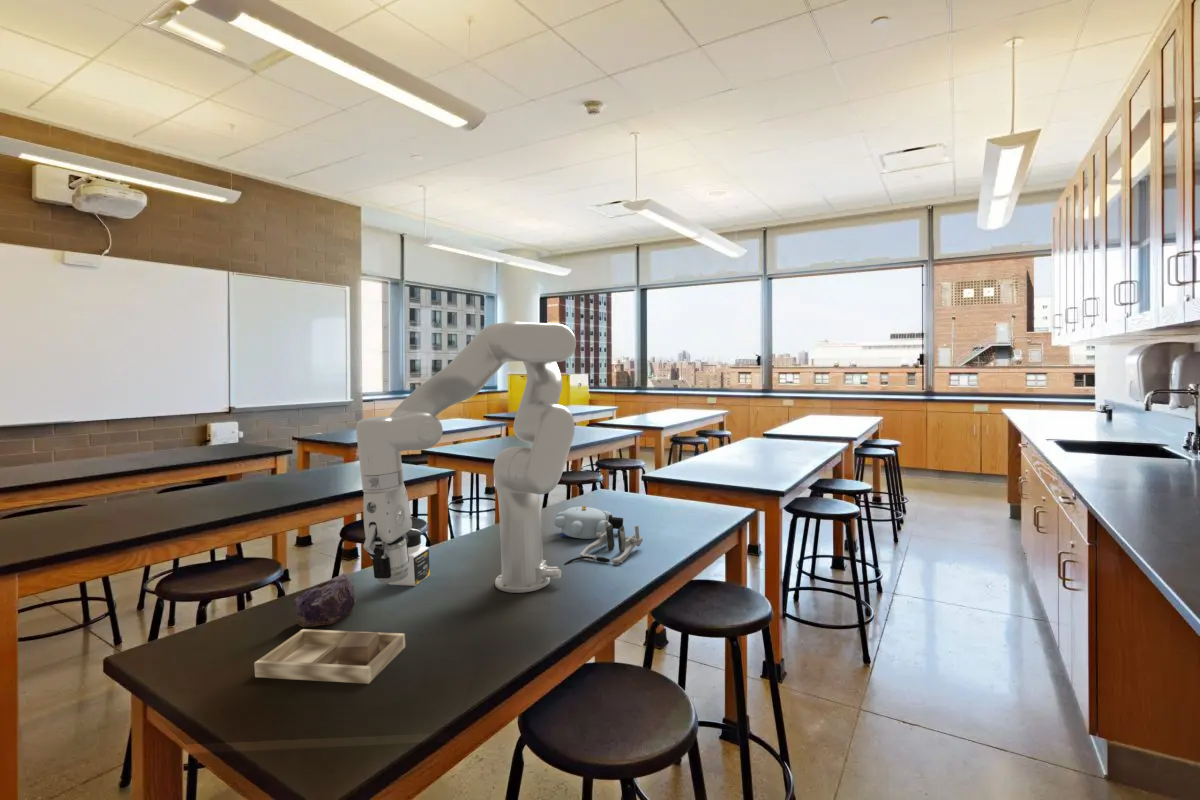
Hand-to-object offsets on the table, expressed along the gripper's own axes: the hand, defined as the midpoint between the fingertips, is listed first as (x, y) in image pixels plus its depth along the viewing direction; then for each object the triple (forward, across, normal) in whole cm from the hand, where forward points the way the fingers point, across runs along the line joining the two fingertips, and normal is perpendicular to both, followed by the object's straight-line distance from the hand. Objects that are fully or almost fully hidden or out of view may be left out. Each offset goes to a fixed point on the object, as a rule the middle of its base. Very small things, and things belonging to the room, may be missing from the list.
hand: (392, 569), depth 114 cm
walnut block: (+10, -16, -2) cm, 19 cm away
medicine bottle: (+12, +23, +9) cm, 27 cm away
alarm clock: (+15, +62, -28) cm, 69 cm away
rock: (+11, 0, +14) cm, 18 cm away
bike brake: (+14, +42, -36) cm, 57 cm away
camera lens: (+2, 0, 0) cm, 2 cm away
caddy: (+10, -16, +3) cm, 20 cm away
